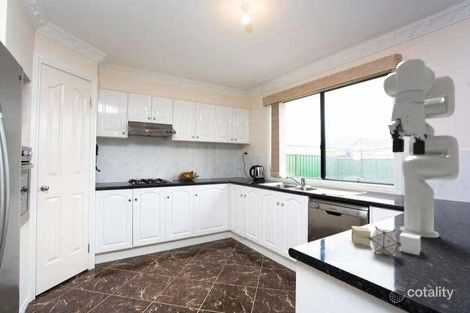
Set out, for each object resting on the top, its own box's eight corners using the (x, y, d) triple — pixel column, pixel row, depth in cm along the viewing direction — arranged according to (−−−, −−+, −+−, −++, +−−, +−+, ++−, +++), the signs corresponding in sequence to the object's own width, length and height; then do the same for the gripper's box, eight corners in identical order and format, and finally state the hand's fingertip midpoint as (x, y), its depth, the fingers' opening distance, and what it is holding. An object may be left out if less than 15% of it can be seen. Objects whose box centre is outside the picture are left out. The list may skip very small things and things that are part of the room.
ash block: (351, 239, 85) (351, 226, 85) (366, 241, 84) (367, 227, 84) (354, 244, 80) (354, 229, 80) (370, 246, 79) (370, 231, 79)
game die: (387, 269, 69) (385, 248, 65) (363, 250, 77) (360, 229, 72) (409, 253, 71) (409, 231, 66) (383, 235, 78) (382, 215, 74)
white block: (401, 247, 79) (401, 232, 79) (420, 251, 75) (420, 235, 76) (399, 251, 75) (399, 235, 75) (419, 255, 72) (419, 239, 72)
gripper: (414, 106, 81) (414, 155, 80) (379, 98, 75) (378, 151, 74) (440, 101, 74) (439, 155, 73) (403, 92, 68) (402, 150, 67)
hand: (408, 153), depth 73 cm, fingers open, 9 cm apart
